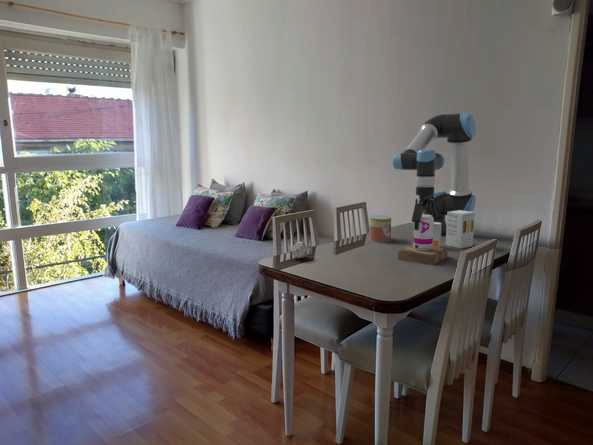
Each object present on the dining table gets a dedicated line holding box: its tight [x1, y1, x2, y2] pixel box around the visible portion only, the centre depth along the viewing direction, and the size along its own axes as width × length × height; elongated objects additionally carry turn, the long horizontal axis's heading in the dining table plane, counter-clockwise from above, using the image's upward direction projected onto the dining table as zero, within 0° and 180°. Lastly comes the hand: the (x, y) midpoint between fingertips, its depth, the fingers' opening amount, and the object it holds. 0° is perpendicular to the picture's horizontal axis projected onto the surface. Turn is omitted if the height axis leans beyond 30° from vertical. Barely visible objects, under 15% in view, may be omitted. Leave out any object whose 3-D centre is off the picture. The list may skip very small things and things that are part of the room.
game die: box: [289, 239, 311, 261], centre depth 202 cm, size 9×8×10 cm
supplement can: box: [412, 214, 434, 251], centre depth 198 cm, size 8×8×15 cm
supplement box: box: [445, 210, 476, 249], centre depth 220 cm, size 10×9×17 cm
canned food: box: [368, 214, 392, 243], centre depth 236 cm, size 11×11×12 cm
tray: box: [397, 244, 448, 266], centre depth 200 cm, size 16×16×4 cm
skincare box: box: [433, 222, 442, 248], centre depth 218 cm, size 6×4×12 cm
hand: (423, 234), depth 198 cm, fingers open, 13 cm apart
